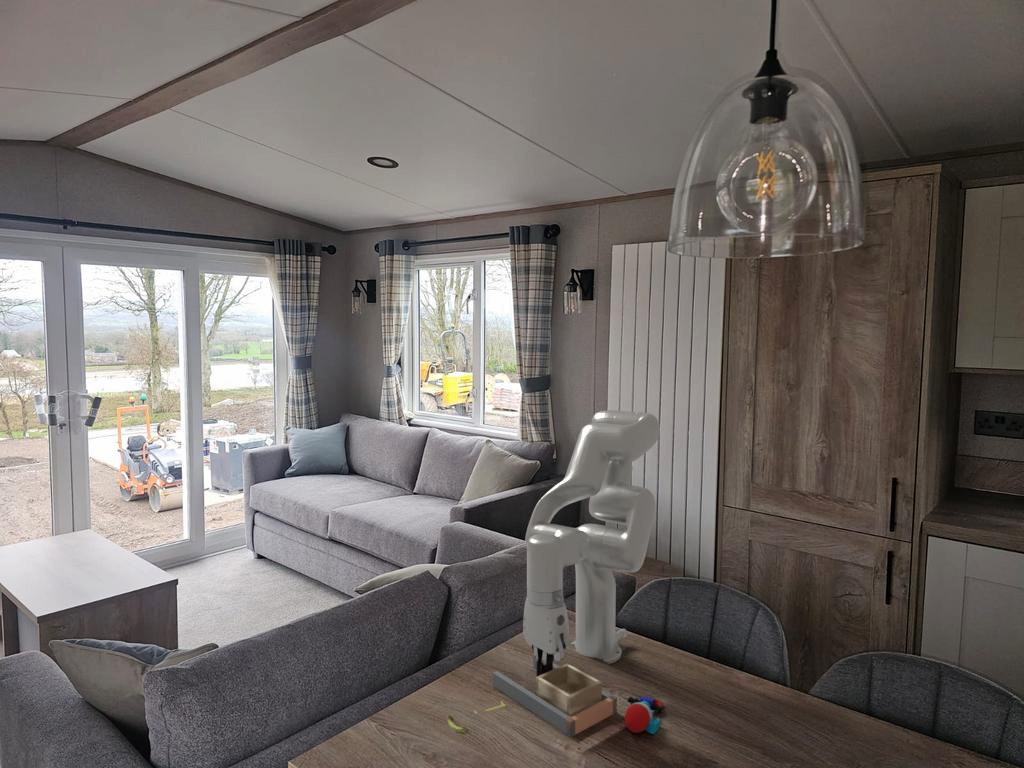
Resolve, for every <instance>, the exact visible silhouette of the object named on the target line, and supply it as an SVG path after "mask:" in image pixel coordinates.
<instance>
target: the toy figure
mask: <svg viewBox="0 0 1024 768" xmlns="http://www.w3.org/2000/svg"><path fill="white" fill-rule="evenodd" d="M627 702H628V703H630V705H629V706H628V707H627V708H626V710H625V714H624V723H625V726H626V728H627V729H628V730H629V731H630V732H632V733H635V734H638V733H642V732H644V731H646V732H647V733H648V734H652V735H655V733H656V732H657V731H658V729H659V727H660V718H656V719H655V717H654V714H655V713H657V712H658V713H662V712H663V710H664V706H663V705H664V702H662V701H660V700H656V699H654V698H652V697H648V696H644V695H642V696H641V698H640V699H638V698H637V697H635V698H634V697H633V696H629V697H628V698H627Z"/></svg>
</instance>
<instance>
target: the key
mask: <svg viewBox="0 0 1024 768" xmlns="http://www.w3.org/2000/svg"><path fill="white" fill-rule="evenodd" d="M500 703H501V704H500V705H497V706H494V707H491V708H487V709H486V710H485V712H486V711H489V712H490V711H495V710H496V711H497V710H501V709H506V708H507V705H506V703H504V702H503V701H502V700H501V701H500ZM473 712H474V714H475V715H477V714H478V711H476V710H474V711H473ZM447 724H448V726H449V727H450V729H452V730H453V731H454V732H457V733H460V734H461V733H463V734H464V733H468V732H470V730H469V729H468V728H467V727H466V726H463V727H460V726H457V725H456V724H455V723H454V718H453V716H452V715H450V714H448V717H447Z"/></svg>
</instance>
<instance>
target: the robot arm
mask: <svg viewBox="0 0 1024 768" xmlns="http://www.w3.org/2000/svg"><path fill="white" fill-rule="evenodd" d="M660 426H661V425H660V421H659V419H658V418H657V416H655V415H654V414H652V413H649V412H643V411H642V412H639V411H626V410H613V409H610V410H609V409H608V410H606V409H605V410H600V411H598V412H595V413H594V415H593V416H592V418H591V423H587V424H586V425H584V426H583V427H582V428H581V430H580V432H579V435H578V437H577V441H576V444H575V446H574V450H573V451H572V455H571V458H570V461H569V464H568V467H567V468H566V469H567V470H566V473H565V475H564V478H563V479H562V480H561V481H559V482H558V483H556V484H555V485H554V486H553V487H551V488H550V489H549V490H548V491H547V492H545V494H544V495H543V496H542V497H541V498H540V499H539V500H538V502H537V503H536V505H535V507H534V509H533V511H532V514H531V517H530V520H529V522H528V525H527V528H526V533H525V537H524V538H525V539H524V543H525V547H526V598H525V602H524V607H523V608H524V610H523V618H522V619H523V622H522V623H523V624H522V627H523V629H522V631H523V638H524V640H525V642H526V644H527V645H528V646H529V647H530V648H531V649H532V652H533V656H534V658H535V660H536V661H537V670H536V677H538V676H540V675H542V674H544V673H547V672H549V671H551V670H553V663H554V662H555V661H556V662H560V661H562V660H564V659H565V653H564V650H569V648H570V645H572V646H574V647H575V650H576V652H577V653H578V654H580V655H582V656H584V657H587V658H592V659H599V660H601V661H603V662H605V663H607V664H609V665H611V664H614V663H616V662H617V661H619V659H621V657H622V648H621V646H620V645H619V644H618V642H619V641H620V639H623V638H625V637H627V636H628V631H627V629H626V628H621V629H619V630H617V631H616V602H617V601H616V598H617V597H616V593H617V591H616V590H617V589H616V588H617V584H616V579H615V576H614V574H613V572H612V570H614V571H615V570H616V571H618V572H619V571H621V572H624V573H636V572H638V571H639V570H640V569H641V568H642V566H643V564H644V561H645V558H646V554H647V549H648V547H649V546H648V545H649V541H650V536H651V532H652V528H653V522H654V519H655V512H656V501H655V496H654V494H653V492H652V491H651V490H649V489H648V488H645V487H643V486H638V485H631V483H630V482H631V479H632V475H633V470H634V468H633V464H632V462H635V461H636V460H639V458H641V457H642V456H643V455H645V453H647V452H648V451H649V450H651V449H652V448H653V447H654V446H655V444H656V443H657V441H658V439H659V437H660V432H661V427H660ZM588 498H589V500H588V501H589V502H588V512H589V515H591V517H593V518H594V519H596V520H599V521H602V522H607V523H613V524H617V525H618V524H619V525H624V526H627V529H625V528H620V527H619V528H618V527H614V526H609V525H603V524H597V523H584V524H582V525H580V526H578V527H577V528H576V527H572V526H571V527H570V526H566V525H559V524H556V523H551V522H552V520H553V518H554V516H555V515H556V514H557V513H558V512H559V511H560V510H561V509H563V508H564V507H566V506H568V505H570V504H572V503H576V502H578V501H582V500H585V499H588ZM573 565H574V567H575V568H574V569H575V639H574V640H573V641H572V642H571V643H570V628H569V626H570V625H569V617H568V611H567V605H566V604H565V597H564V568H565V567H569V566H573Z"/></svg>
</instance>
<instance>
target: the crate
mask: <svg viewBox="0 0 1024 768" xmlns="http://www.w3.org/2000/svg"><path fill="white" fill-rule="evenodd" d="M602 690H603V681H600V680H599V679H597V678H595V677H594V676H591V675H589V674H588V673H586V672H583V671H582V670H580V669H578V668H576V667H575V666H572V665H571V664H569V663H565V664H562V665H561V666H560V667H558V668H556V669H553V670H551V671H549V672H547V673H544V674H542V675H540V676H538V677H537V676H535V695H536V696H538V697H539V698H541V699H543V700H544V701H546V702H547V703H549V704H551V705H552V706H554V707H555V708H557V709H559V710H560V711H562V712H563V713H565V714H567V715H568V716H570V717H572V716H574V715H576V714H578V713H580V712H582V711H584V710H586V709H588V708H590V707H592V706H594V705H595V704H597V703H599V702H601V701H602Z"/></svg>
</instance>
